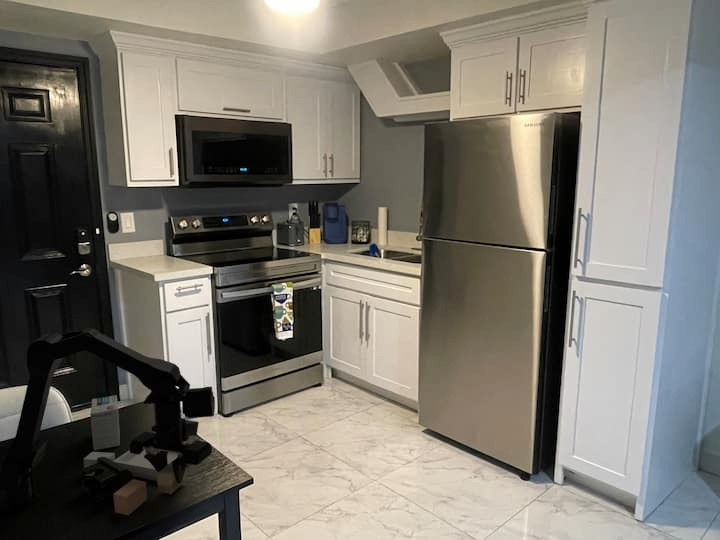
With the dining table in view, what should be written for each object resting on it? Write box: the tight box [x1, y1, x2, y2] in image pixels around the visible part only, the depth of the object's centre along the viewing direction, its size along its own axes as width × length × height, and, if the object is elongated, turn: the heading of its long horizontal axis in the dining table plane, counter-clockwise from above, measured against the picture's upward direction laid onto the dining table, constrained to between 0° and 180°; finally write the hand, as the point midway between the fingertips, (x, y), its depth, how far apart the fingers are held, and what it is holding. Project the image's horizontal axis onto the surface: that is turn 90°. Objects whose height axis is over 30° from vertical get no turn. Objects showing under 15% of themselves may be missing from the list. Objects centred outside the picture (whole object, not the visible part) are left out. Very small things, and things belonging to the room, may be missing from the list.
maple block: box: [156, 462, 188, 495], centre depth 123 cm, size 6×4×4 cm, turn 162°
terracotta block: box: [113, 478, 148, 516], centre depth 117 cm, size 6×4×4 cm, turn 163°
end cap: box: [81, 457, 134, 506], centre depth 122 cm, size 10×7×7 cm
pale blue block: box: [83, 451, 116, 477], centre depth 130 cm, size 6×4×4 cm, turn 83°
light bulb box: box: [89, 395, 121, 451], centre depth 146 cm, size 11×7×11 cm, turn 25°
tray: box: [114, 447, 189, 482], centre depth 134 cm, size 12×15×3 cm
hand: (172, 481), depth 123 cm, fingers closed on maple block, 3 cm apart
